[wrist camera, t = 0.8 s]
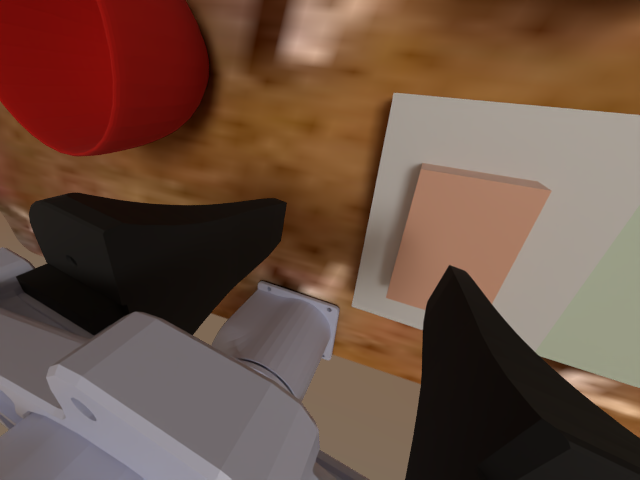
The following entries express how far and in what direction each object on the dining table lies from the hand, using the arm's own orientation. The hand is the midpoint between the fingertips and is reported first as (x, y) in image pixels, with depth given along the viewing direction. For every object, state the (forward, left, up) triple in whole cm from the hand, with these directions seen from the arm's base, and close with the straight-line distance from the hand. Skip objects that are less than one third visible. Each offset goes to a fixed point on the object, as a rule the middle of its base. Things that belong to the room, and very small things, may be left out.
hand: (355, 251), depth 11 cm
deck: (+6, -2, -11) cm, 12 cm away
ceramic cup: (-21, +8, -11) cm, 25 cm away
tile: (+5, -2, -8) cm, 9 cm away
